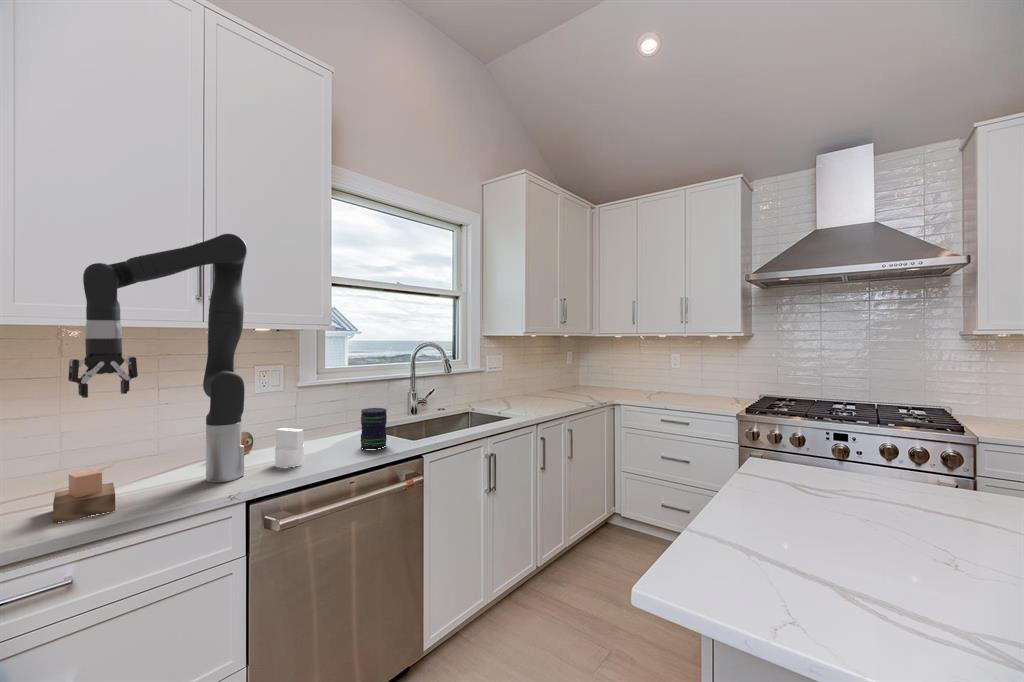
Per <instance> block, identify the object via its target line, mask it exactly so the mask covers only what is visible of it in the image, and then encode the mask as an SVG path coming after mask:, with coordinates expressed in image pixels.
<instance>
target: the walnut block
mask: <svg viewBox="0 0 1024 682" xmlns="http://www.w3.org/2000/svg"><path fill="white" fill-rule="evenodd" d="M114 485H115V484H114V482H109V483H102V492H100V493H95V494H91V495H86V496H82V497H77V498H75V497H73V496H72V495H70V494H69V489H66V490H60V491H55V492H54V497H53V503H52V513H53V514H52V516H53V517H52V518H53V520H52V521H53V522H52V523H53V525H55V524H54V523H56V524H59V523H58V522H61V523H63V522H62V521H66V522H70V521H69V520H72V521H75V519H77V520H80V518H82V519H84V518H83V517H87V518H89V517H88V516H91V515H96V514H102V513H107V512H113V511H115V512H116V490H115V486H114ZM113 513H114V512H113ZM107 514H108V513H107ZM102 515H103V514H102Z"/></svg>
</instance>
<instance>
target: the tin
mask: <svg viewBox="0 0 1024 682" xmlns="http://www.w3.org/2000/svg"><path fill="white" fill-rule="evenodd" d="M241 445H243V446H244V454H245V455H247V454H249V453H250V452H251V450H252V449H253V446H254V438H253V435H252V434H251V433H250V432H249V431H241Z"/></svg>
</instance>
